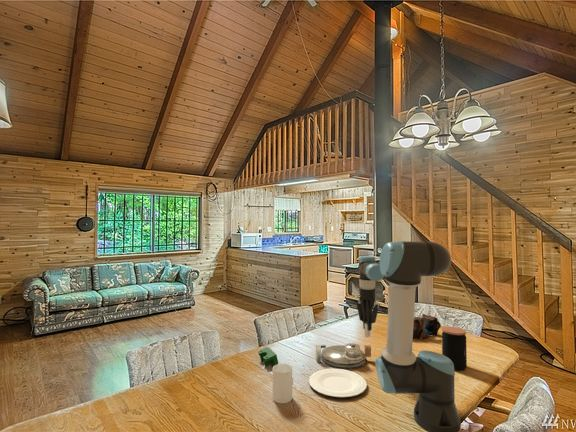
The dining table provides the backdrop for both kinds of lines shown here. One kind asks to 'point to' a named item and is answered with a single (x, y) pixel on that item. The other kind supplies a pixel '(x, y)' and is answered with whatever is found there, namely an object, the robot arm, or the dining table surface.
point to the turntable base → (319, 358)
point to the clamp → (268, 356)
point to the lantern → (425, 326)
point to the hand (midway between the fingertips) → (367, 336)
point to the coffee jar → (455, 346)
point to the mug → (282, 383)
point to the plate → (337, 383)
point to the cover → (352, 352)
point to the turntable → (336, 355)
